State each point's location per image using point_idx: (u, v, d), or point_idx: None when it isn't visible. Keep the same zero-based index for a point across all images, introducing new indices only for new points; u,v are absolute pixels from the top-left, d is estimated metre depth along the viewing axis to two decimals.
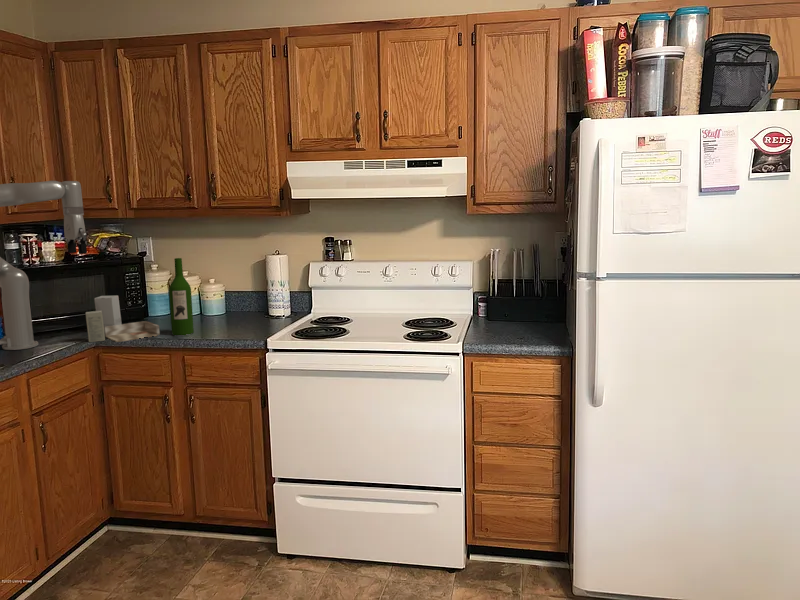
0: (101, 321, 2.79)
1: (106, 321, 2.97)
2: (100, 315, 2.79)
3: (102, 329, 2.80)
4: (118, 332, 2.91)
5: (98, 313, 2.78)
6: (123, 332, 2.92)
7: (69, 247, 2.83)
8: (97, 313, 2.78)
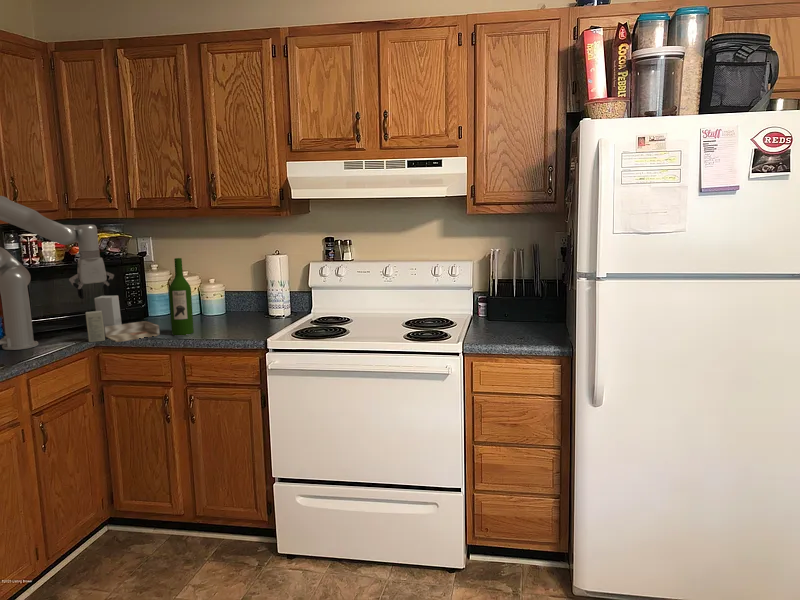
0: (101, 321, 2.79)
1: (106, 321, 2.97)
2: (100, 315, 2.79)
3: (102, 329, 2.80)
4: (118, 332, 2.91)
5: (98, 313, 2.78)
6: (123, 332, 2.92)
7: (82, 292, 2.74)
8: (97, 313, 2.78)
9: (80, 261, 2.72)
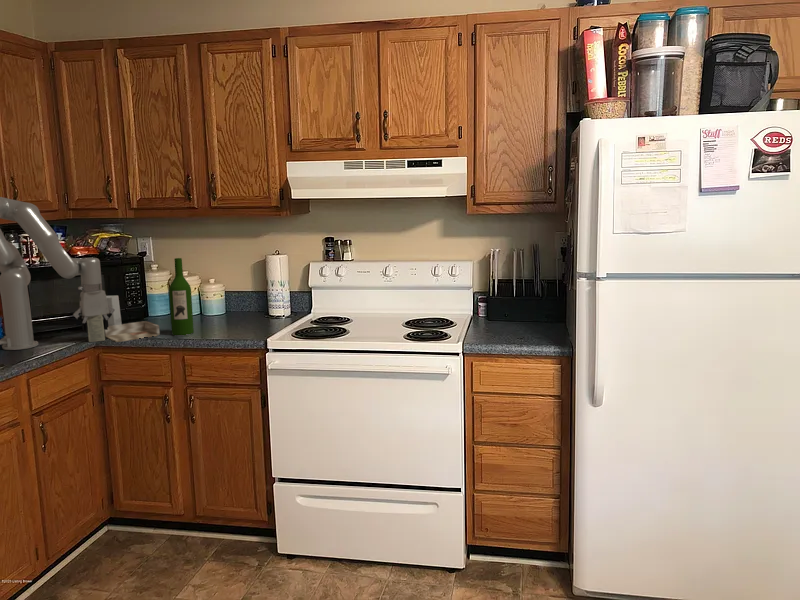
0: (101, 321, 2.79)
1: None
2: (100, 315, 2.79)
3: (102, 329, 2.80)
4: (118, 332, 2.91)
5: None
6: (123, 332, 2.92)
7: None
8: None
9: (83, 294, 2.74)
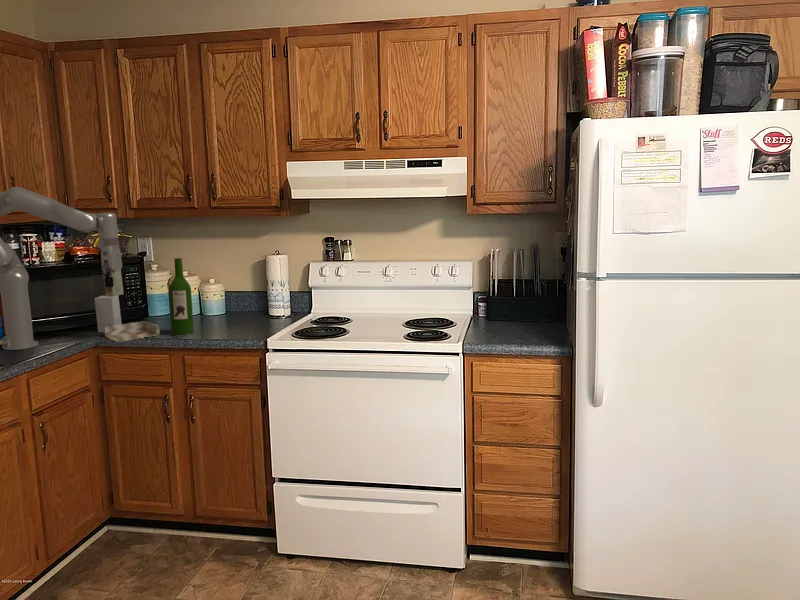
0: (120, 275, 2.84)
1: (106, 321, 2.97)
2: (120, 269, 2.84)
3: (121, 283, 2.85)
4: (118, 332, 2.91)
5: None
6: (123, 332, 2.92)
7: None
8: None
9: (109, 248, 2.76)
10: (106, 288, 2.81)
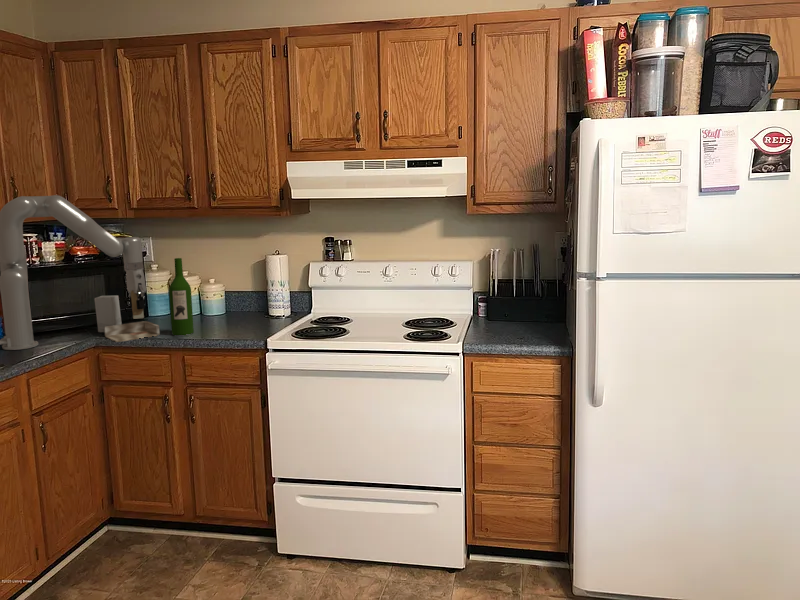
0: None
1: (106, 321, 2.97)
2: None
3: None
4: (118, 332, 2.91)
5: None
6: (123, 332, 2.92)
7: None
8: None
9: (142, 271, 2.86)
10: (135, 310, 2.88)
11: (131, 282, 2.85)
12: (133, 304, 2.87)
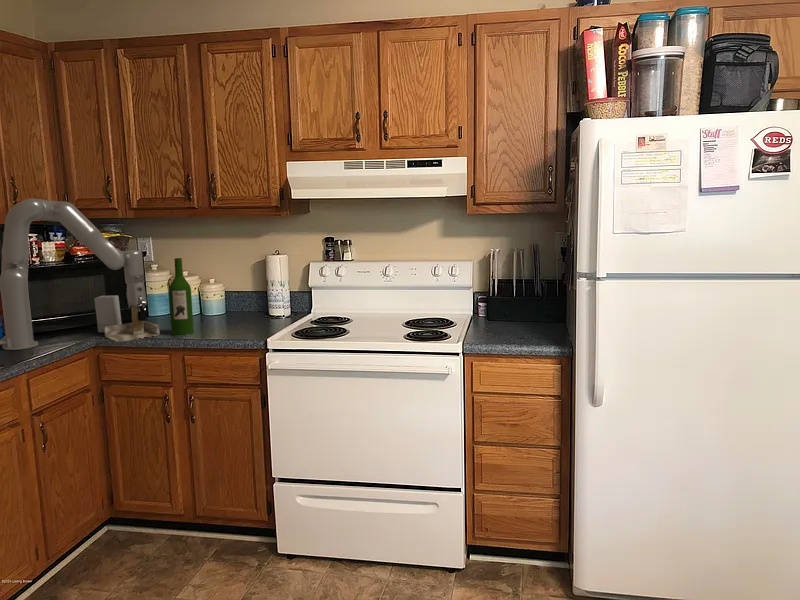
0: None
1: (106, 321, 2.97)
2: None
3: None
4: (118, 332, 2.91)
5: None
6: (123, 332, 2.92)
7: None
8: None
9: (143, 284, 2.87)
10: (135, 327, 2.88)
11: (132, 295, 2.86)
12: (133, 320, 2.88)
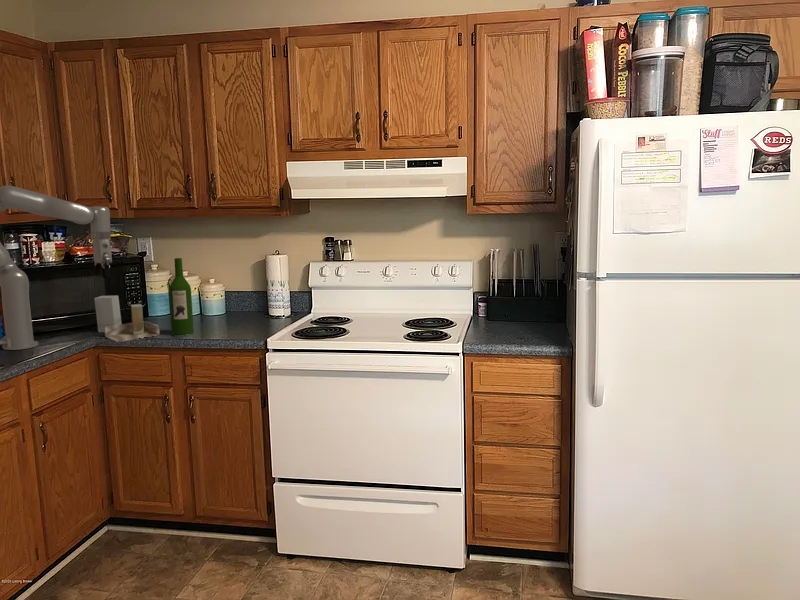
0: None
1: (106, 321, 2.97)
2: None
3: None
4: (118, 332, 2.91)
5: (141, 305, 2.92)
6: (123, 332, 2.92)
7: None
8: (141, 305, 2.92)
9: (108, 241, 2.83)
10: (135, 327, 2.88)
11: (97, 251, 2.83)
12: (133, 320, 2.88)
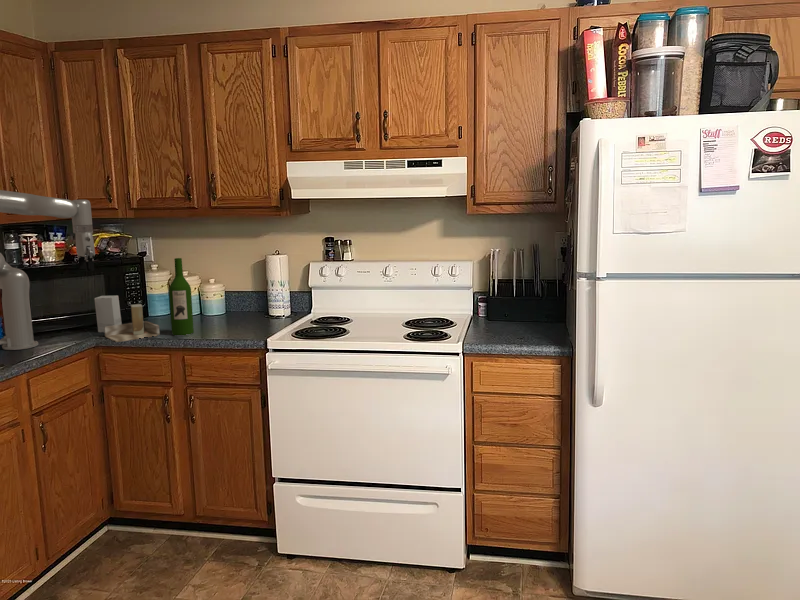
0: None
1: (106, 321, 2.97)
2: None
3: None
4: (118, 332, 2.91)
5: (141, 305, 2.92)
6: (123, 332, 2.92)
7: None
8: (141, 305, 2.92)
9: (91, 234, 2.83)
10: (135, 327, 2.88)
11: (80, 245, 2.82)
12: (133, 320, 2.88)
